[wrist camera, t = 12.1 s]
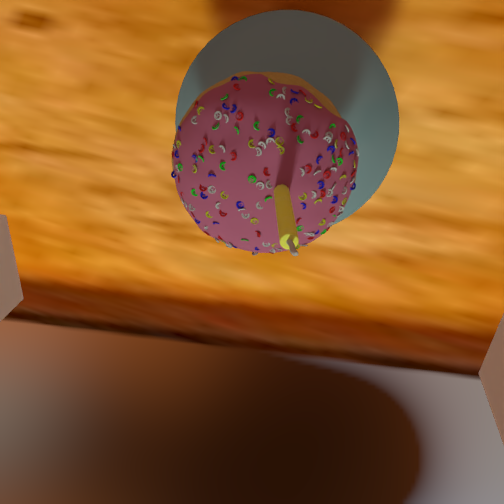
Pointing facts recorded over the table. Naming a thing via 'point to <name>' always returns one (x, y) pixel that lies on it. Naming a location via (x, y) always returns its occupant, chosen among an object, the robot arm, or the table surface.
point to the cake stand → (311, 80)
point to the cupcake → (264, 162)
